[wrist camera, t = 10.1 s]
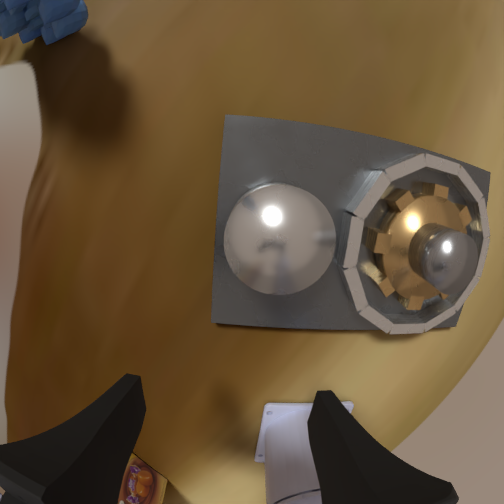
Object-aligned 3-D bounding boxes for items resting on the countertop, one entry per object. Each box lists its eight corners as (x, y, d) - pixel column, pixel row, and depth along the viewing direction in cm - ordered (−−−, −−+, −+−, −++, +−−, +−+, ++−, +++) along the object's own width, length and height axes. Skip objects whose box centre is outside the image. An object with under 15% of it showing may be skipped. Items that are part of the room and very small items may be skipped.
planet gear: (444, 302, 19) (477, 329, 15) (353, 297, 19) (378, 332, 14) (470, 196, 17) (511, 205, 12) (377, 170, 16) (414, 173, 12)
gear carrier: (449, 321, 21) (474, 344, 17) (212, 315, 20) (205, 347, 16) (482, 171, 17) (516, 176, 13) (226, 117, 16) (220, 103, 12)
